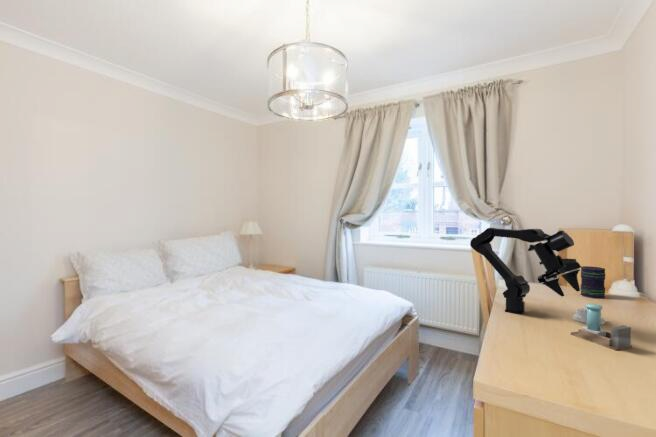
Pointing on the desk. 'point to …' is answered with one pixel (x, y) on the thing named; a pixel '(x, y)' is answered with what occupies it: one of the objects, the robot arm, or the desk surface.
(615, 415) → the desk surface
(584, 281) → the storage jar
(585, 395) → the desk surface
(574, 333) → the mount
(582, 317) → the mechanical component
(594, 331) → the knob
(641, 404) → the desk surface
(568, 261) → the robot arm
